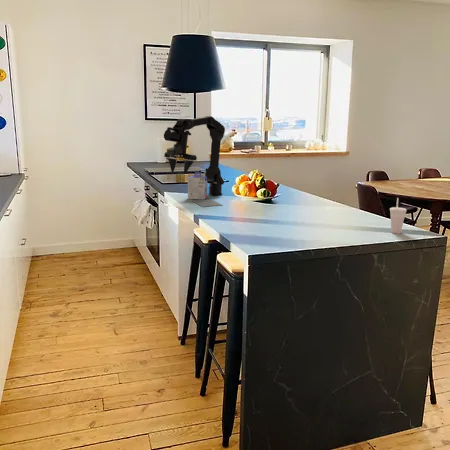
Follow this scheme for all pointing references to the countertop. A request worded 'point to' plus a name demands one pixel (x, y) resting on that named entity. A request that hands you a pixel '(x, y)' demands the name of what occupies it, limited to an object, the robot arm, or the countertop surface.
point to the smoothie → (397, 218)
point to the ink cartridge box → (197, 186)
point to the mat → (207, 203)
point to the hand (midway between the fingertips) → (178, 172)
